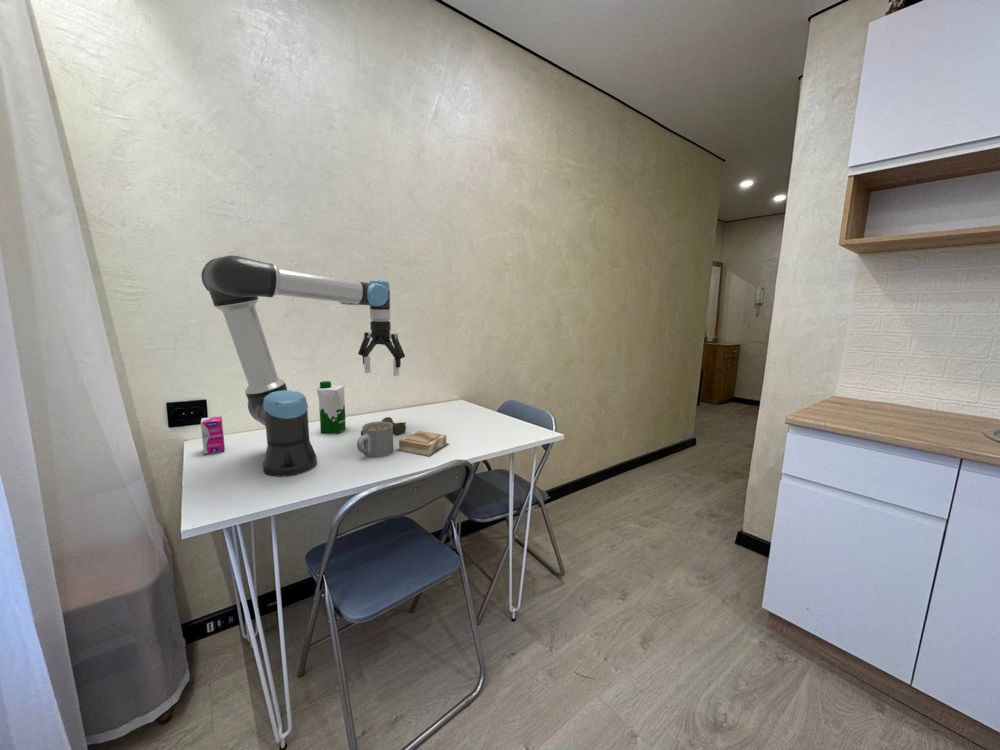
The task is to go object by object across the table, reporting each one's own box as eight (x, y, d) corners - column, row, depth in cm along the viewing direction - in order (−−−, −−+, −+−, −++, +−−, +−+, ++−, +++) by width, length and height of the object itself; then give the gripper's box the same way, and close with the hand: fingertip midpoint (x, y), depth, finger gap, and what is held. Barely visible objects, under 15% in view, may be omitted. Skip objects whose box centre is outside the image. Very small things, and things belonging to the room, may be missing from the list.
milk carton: (327, 427, 164) (324, 379, 161) (349, 427, 164) (346, 380, 160) (317, 434, 156) (314, 384, 152) (340, 434, 156) (337, 384, 152)
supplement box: (203, 455, 133) (199, 422, 130) (204, 449, 137) (201, 418, 135) (224, 452, 136) (221, 420, 134) (225, 446, 141) (221, 415, 138)
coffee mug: (383, 446, 145) (382, 419, 143) (399, 453, 138) (398, 425, 136) (348, 456, 135) (347, 427, 133) (363, 464, 128) (362, 434, 127)
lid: (428, 455, 135) (428, 444, 135) (399, 449, 140) (399, 439, 139) (446, 444, 146) (446, 434, 146) (418, 439, 151) (418, 429, 150)
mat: (429, 458, 134) (429, 457, 134) (395, 452, 139) (395, 450, 139) (449, 445, 147) (449, 443, 147) (417, 439, 152) (417, 438, 152)
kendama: (356, 440, 151) (398, 426, 167) (371, 447, 146) (413, 432, 161) (355, 425, 150) (398, 413, 166) (370, 431, 144) (413, 418, 160)
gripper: (413, 321, 154) (414, 375, 158) (360, 319, 162) (362, 370, 166) (402, 322, 147) (403, 378, 151) (347, 319, 155) (349, 372, 159)
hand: (381, 374), depth 159 cm, fingers open, 13 cm apart
